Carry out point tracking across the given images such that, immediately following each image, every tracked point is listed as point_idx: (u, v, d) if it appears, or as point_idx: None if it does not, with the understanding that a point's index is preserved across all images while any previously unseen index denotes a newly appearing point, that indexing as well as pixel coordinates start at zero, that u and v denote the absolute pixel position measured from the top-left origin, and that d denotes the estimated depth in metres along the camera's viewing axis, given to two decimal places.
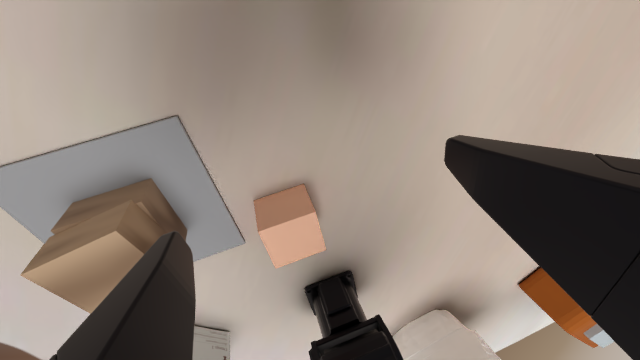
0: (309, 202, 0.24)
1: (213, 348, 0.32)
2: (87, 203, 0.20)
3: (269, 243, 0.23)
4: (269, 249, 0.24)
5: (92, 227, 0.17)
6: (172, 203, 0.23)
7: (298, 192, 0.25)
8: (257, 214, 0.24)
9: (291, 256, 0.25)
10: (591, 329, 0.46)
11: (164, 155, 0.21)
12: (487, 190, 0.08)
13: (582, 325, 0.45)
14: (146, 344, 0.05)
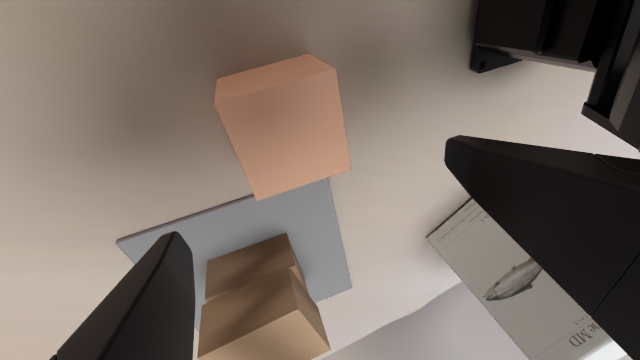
0: None
1: (484, 220, 0.23)
2: None
3: (286, 182, 0.13)
4: (302, 182, 0.13)
5: None
6: (243, 244, 0.20)
7: None
8: None
9: (331, 143, 0.13)
10: None
11: None
12: (487, 190, 0.08)
13: None
14: (146, 344, 0.05)
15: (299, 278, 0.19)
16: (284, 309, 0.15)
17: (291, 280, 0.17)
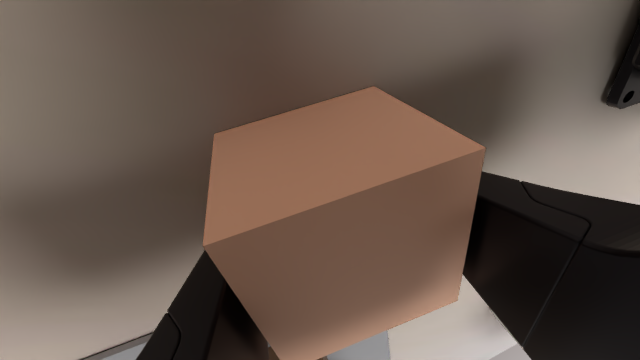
0: None
1: None
2: None
3: (344, 339, 0.07)
4: (371, 332, 0.07)
5: None
6: None
7: None
8: None
9: (437, 273, 0.07)
10: None
11: None
12: None
13: None
14: (240, 308, 0.06)
15: None
16: None
17: None
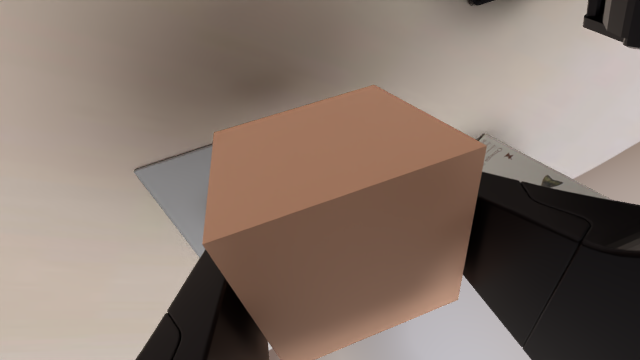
0: None
1: (485, 164, 0.24)
2: None
3: (344, 338, 0.07)
4: (372, 331, 0.07)
5: None
6: None
7: None
8: None
9: (437, 272, 0.07)
10: None
11: (187, 184, 0.20)
12: None
13: None
14: (240, 308, 0.06)
15: None
16: None
17: None
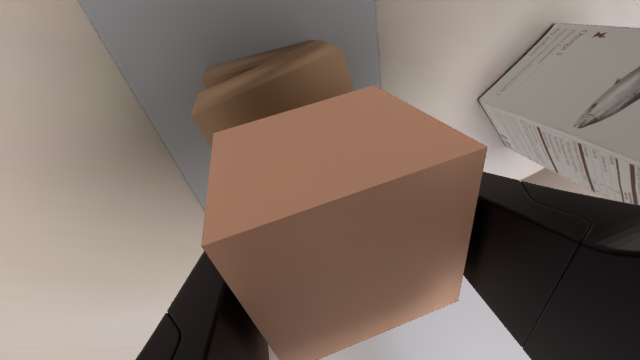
0: None
1: (562, 52, 0.18)
2: None
3: (344, 339, 0.07)
4: (372, 332, 0.07)
5: None
6: (254, 48, 0.15)
7: None
8: None
9: (438, 273, 0.06)
10: None
11: (161, 37, 0.13)
12: None
13: None
14: (240, 308, 0.06)
15: None
16: (320, 55, 0.10)
17: None
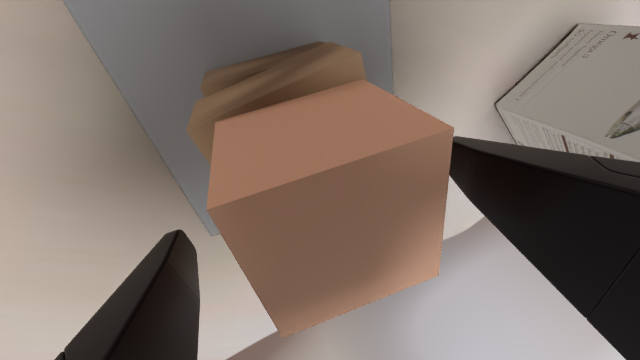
0: None
1: (589, 55, 0.17)
2: None
3: (333, 308, 0.08)
4: (359, 303, 0.08)
5: None
6: (258, 50, 0.13)
7: None
8: None
9: (417, 246, 0.07)
10: None
11: (155, 39, 0.12)
12: (483, 191, 0.08)
13: None
14: (152, 341, 0.05)
15: None
16: (334, 60, 0.09)
17: None
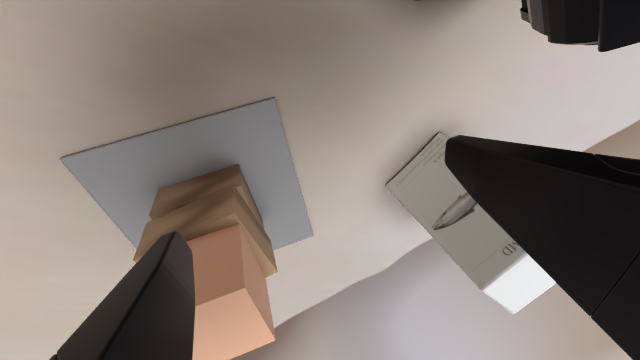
0: None
1: (437, 161, 0.24)
2: None
3: None
4: (227, 358, 0.14)
5: None
6: (194, 173, 0.20)
7: None
8: None
9: (251, 330, 0.14)
10: None
11: (122, 175, 0.19)
12: (487, 190, 0.08)
13: None
14: (146, 344, 0.05)
15: (247, 202, 0.19)
16: (221, 215, 0.15)
17: (233, 194, 0.17)
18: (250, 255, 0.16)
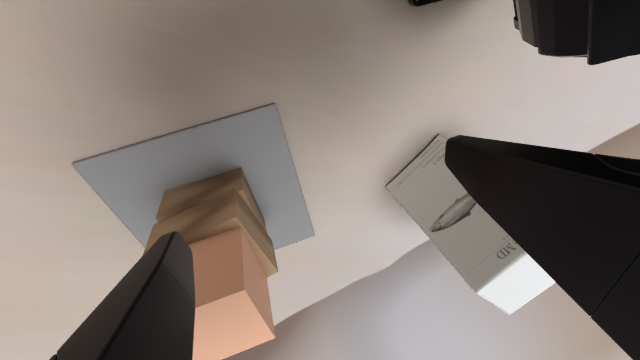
0: None
1: (436, 163, 0.24)
2: None
3: (214, 357, 0.15)
4: (229, 354, 0.15)
5: None
6: (199, 177, 0.21)
7: None
8: None
9: (252, 328, 0.15)
10: None
11: (130, 178, 0.19)
12: (487, 190, 0.08)
13: None
14: (146, 344, 0.05)
15: (249, 205, 0.20)
16: (223, 218, 0.16)
17: (235, 198, 0.18)
18: (251, 257, 0.17)
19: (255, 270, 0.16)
